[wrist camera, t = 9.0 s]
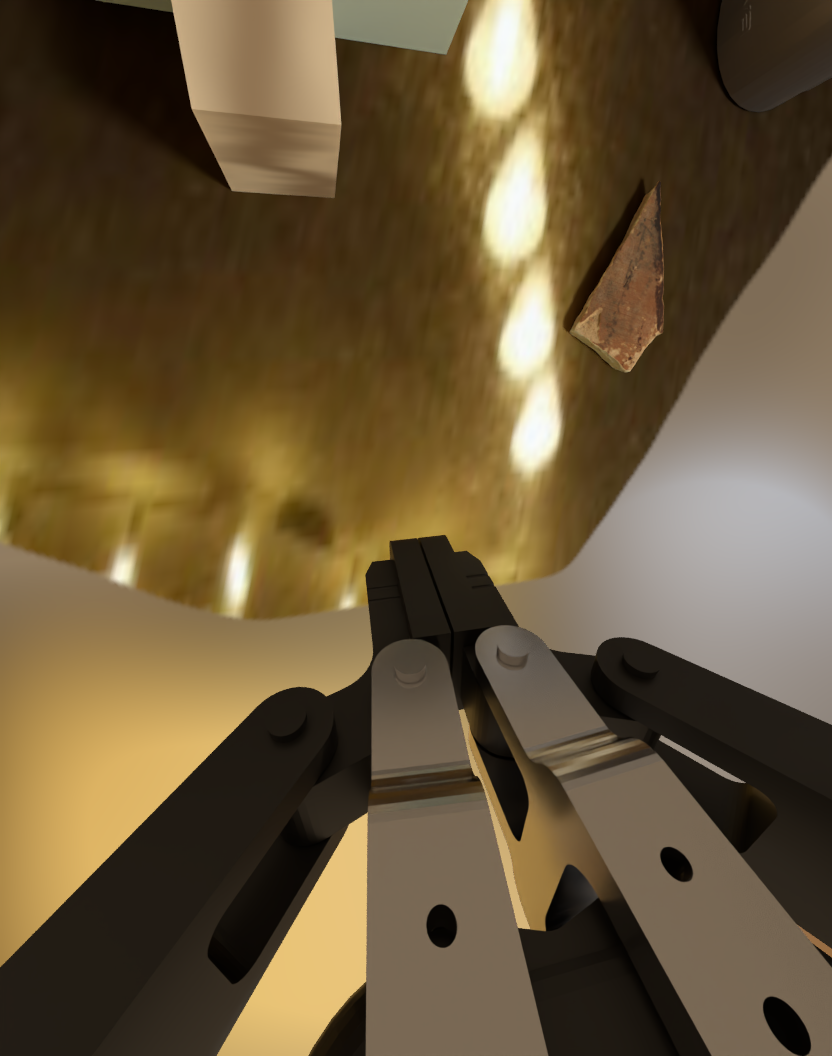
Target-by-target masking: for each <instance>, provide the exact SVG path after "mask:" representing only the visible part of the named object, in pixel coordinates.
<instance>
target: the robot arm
mask: <svg viewBox="0 0 832 1056" xmlns="http://www.w3.org/2000/svg"><path fill="white" fill-rule="evenodd" d="M717 54H718V62H719V69H720V73H721V76H722V80H723V83H724V85H725V87H726V89H727V91H728V93H729V95H730V97H731V98H732V99H733V100H734V101H735V102H736V103H737V104H738V105H739V106H741V107H742V108H744V109H746V110H748V111H754V112H762V111H766V110H771V109H772V108H774V107H776V106H778V105H780V104H782V103H783V102H785V101H787V100H789V99H790V98H792V97H794V96H796V95H797V94H799V93H801V92H803V91H807V90H810V89H812V88H813V87H815V86H817V85H819V84H820V83H822V82H824V81H826V80H827V79H829V78H831V77H832V0H722V3H721V7H720V14H719V21H718V28H717ZM366 585H367V595H368V604H369V613H370V623H371V633H372V641H373V658H372V661H371V663H370V666H369V667H368V669H367V671H366V672H365V673H364V674H363V675H362V677H360V678H359V679H358V680H357V681H356V682H354V683H353V684H351V685H349V686H348V687H346V688H344V689H342V690H340V691H338V692H335V693H333V694H331V695H329V696H327V697H326V696H325V695H324V694H322V693H321V692H319V691H317V690H315V689H312V688H307V687H296V688H290V689H286V690H283V691H280V692H278V693H276V694H274V695H272V696H270V697H269V698H267V699H266V700H264V701H263V702H262V703H261V704H260V705H259V706H257V707H256V709H254V711H252V713H251V714H250V715H249V716H248V717H247V718H246V719H245V720H244V721H243V722H242V723H241V724H240V725H239V726H238V727H237V728H236V729H235V730H234V731H233V732H232V733H231V734H230V735H229V736H228V737H227V738H226V739H225V740H224V741H223V742H222V743H221V744H220V745H219V746H218V747H217V748H216V749H215V750H214V751H213V752H212V753H211V754H210V755H209V756H208V757H207V758H206V759H205V760H204V761H203V762H202V763H201V764H200V765H199V766H198V767H197V768H196V769H195V770H194V771H193V772H192V774H190V775H189V776H188V778H187V779H186V780H185V781H184V782H183V783H182V784H181V785H180V786H179V787H178V788H177V789H176V790H175V791H174V792H173V793H172V794H171V795H170V796H169V797H168V798H167V799H166V800H165V801H164V802H163V803H162V804H161V805H160V806H159V807H158V808H157V809H156V810H155V811H154V812H153V813H152V814H151V815H150V816H149V817H148V818H147V819H146V820H145V821H144V822H143V823H142V824H141V825H140V826H139V827H138V828H137V829H136V830H135V831H134V832H133V833H132V834H131V835H130V836H129V837H128V838H127V839H126V840H125V841H124V843H123V844H121V846H120V847H119V848H118V849H117V850H116V851H115V852H114V853H113V854H112V855H111V856H110V857H109V858H108V859H107V860H106V861H105V862H104V863H103V864H102V865H101V866H100V867H99V868H98V869H97V870H96V871H95V872H94V873H93V874H92V875H91V876H90V877H89V878H88V879H87V880H86V881H85V882H84V883H83V884H82V885H81V886H80V887H79V888H78V889H77V890H76V891H75V892H74V893H73V894H72V895H71V896H70V897H69V898H68V899H67V900H66V902H64V904H62V905H61V906H60V907H59V908H58V910H56V912H54V914H53V915H52V916H51V917H50V918H49V919H48V920H47V921H46V922H45V923H44V924H43V925H42V926H41V927H40V928H39V929H38V930H37V931H36V932H35V933H34V934H33V935H32V936H31V937H30V938H29V939H28V940H27V941H26V942H25V943H24V944H23V945H22V946H21V947H20V948H19V949H18V950H17V951H16V952H15V953H14V954H13V955H12V956H11V957H10V958H9V959H8V960H7V961H6V962H5V963H4V964H3V965H2V966H1V967H0V1056H217V1054H218V1052H219V1050H220V1049H221V1047H222V1045H223V1043H224V1042H225V1040H226V1038H227V1036H228V1035H229V1033H230V1031H231V1030H232V1028H233V1026H234V1024H235V1023H236V1021H237V1019H238V1017H239V1016H240V1014H241V1012H242V1010H243V1009H244V1007H245V1005H246V1003H247V1002H248V1000H249V998H250V997H251V995H252V993H253V991H254V989H255V988H256V986H257V985H258V983H259V981H260V979H261V978H262V976H263V974H264V972H265V971H266V969H267V967H268V965H269V964H270V962H271V960H272V958H273V957H274V955H275V953H276V952H277V950H278V948H279V946H280V945H281V943H282V941H283V940H284V938H285V936H286V934H287V932H288V931H289V929H290V927H291V926H292V924H293V922H294V920H295V919H296V917H297V915H298V913H299V912H300V910H301V908H302V907H303V905H304V903H305V901H306V900H307V898H308V896H309V894H310V893H311V891H312V889H313V888H314V886H315V884H316V882H317V881H318V879H319V877H320V875H321V874H322V872H323V870H324V869H325V867H326V865H327V863H328V862H329V860H330V858H331V856H332V855H333V853H334V851H335V850H336V848H337V846H338V844H339V842H340V841H341V839H342V837H343V836H344V834H345V831H346V830H347V828H348V825H349V824H350V823H352V822H353V821H355V820H356V819H358V818H359V817H361V816H362V815H364V814H366V813H367V812H368V845H367V847H368V849H367V850H368V851H367V967H366V976H367V977H366V982H365V983H364V984H363V985H362V986H361V987H360V988H359V989H358V990H357V991H356V992H355V993H354V994H353V995H352V996H350V998H349V999H348V1000H347V1001H346V1003H345V1004H344V1005H343V1006H342V1007H341V1009H340V1010H339V1011H338V1012H337V1013H336V1015H335V1016H334V1017H333V1018H332V1019H331V1021H330V1023H329V1024H328V1026H327V1027H326V1029H325V1030H324V1032H323V1033H322V1035H321V1036H320V1038H319V1039H318V1041H317V1042H316V1044H315V1045H314V1047H313V1048H312V1050H311V1052H310V1054H309V1056H832V958H831V957H830V956H829V955H827V954H826V953H825V952H823V951H822V950H821V949H819V948H818V947H816V946H815V945H814V944H812V943H811V942H810V940H809V939H808V938H807V937H806V936H805V934H804V933H803V932H802V931H801V929H800V928H799V927H798V926H797V925H799V926H800V927H802V928H803V929H805V930H806V931H807V932H809V933H810V934H812V935H813V936H815V937H816V938H817V939H819V940H820V941H822V942H823V943H825V944H826V945H827V946H829V947H830V948H832V725H831V724H828V723H826V722H824V721H821V720H819V719H817V718H814V717H812V716H810V715H808V714H806V713H804V712H801V711H799V710H797V709H795V708H792V707H790V706H788V705H786V704H783V703H781V702H779V701H777V700H774V699H772V698H770V697H767V696H765V695H763V694H761V693H759V692H756V691H754V690H752V689H750V688H747V687H745V686H743V685H741V684H738V683H736V682H734V681H732V680H729V679H727V678H725V677H722V676H720V675H718V674H716V673H714V672H711V671H709V670H707V669H705V668H702V667H700V666H698V665H696V664H693V663H691V662H689V661H686V660H684V659H682V658H680V657H678V656H675V655H673V654H671V653H669V652H666V651H664V650H662V649H660V648H657V647H655V646H653V645H650V644H648V643H646V642H643V641H640V640H637V639H632V638H624V637H623V638H622V637H621V638H620V637H619V638H612V639H609V640H606V641H604V642H603V643H602V644H601V645H600V646H599V648H598V650H597V653H596V656H592V655H583V654H575V653H566V652H559V651H555V650H551V649H549V648H548V647H547V645H546V644H545V643H544V642H543V641H542V639H540V638H539V637H538V636H537V635H535V634H534V633H532V632H530V631H528V630H526V629H523V628H521V627H519V626H518V624H517V623H516V621H515V620H514V618H513V616H512V614H511V612H510V611H509V609H508V607H507V606H506V604H505V602H504V600H503V599H502V597H501V595H500V594H499V592H498V590H497V588H496V587H494V583H493V582H492V580H491V578H490V577H489V576H488V573H487V571H486V570H485V568H484V566H483V565H482V563H481V561H480V560H479V559H477V558H476V557H474V556H473V555H472V554H470V553H469V552H467V551H462V552H454V551H453V549H452V547H451V545H450V543H449V541H448V539H447V537H446V536H445V535H441V536H432V537H422V538H418V540H417V538H414V539H405V540H396V541H390V560H385V561H376V562H372V563H371V565H370V567H369V569H368V571H367V573H366ZM461 709H464V710H465V713H466V716H467V719H468V722H469V733H468V741H469V745H470V748H471V751H472V754H473V756H474V759H475V761H476V764H477V766H478V769H479V772H480V774H481V777H482V780H483V782H484V785H485V787H486V790H487V793H488V795H489V798H490V800H491V803H492V805H493V808H494V811H495V813H496V816H497V818H498V821H499V824H500V826H501V829H502V831H503V834H504V836H505V839H506V842H507V845H508V848H509V851H510V855H511V859H512V865H513V873H514V878H515V883H516V886H517V890H518V894H519V897H520V901H521V904H522V907H523V910H524V913H525V915H526V918H527V921H528V924H529V926H530V929H522V928H518V927H517V923H516V919H515V915H514V910H513V907H512V902H511V898H510V894H509V890H508V886H507V881H506V877H505V873H504V869H503V865H502V861H501V856H500V852H499V848H498V844H497V840H496V836H495V831H494V827H493V823H492V819H491V814H490V810H489V806H488V802H487V798H486V795H485V792H484V789H483V786H482V783H481V781H480V779H479V778H478V777H477V776H475V775H474V774H473V771H472V768H471V764H470V760H469V756H468V751H467V747H466V742H465V738H464V733H463V729H462V724H461V719H460V715H459V710H461ZM661 735H662V736H664V737H666V738H668V739H670V740H671V741H673V742H675V743H676V744H678V745H680V746H682V747H684V748H686V749H687V750H689V751H691V752H692V753H694V754H696V755H698V756H699V757H701V758H703V759H705V760H707V761H708V762H710V763H712V764H714V765H715V766H717V767H719V768H721V769H723V770H724V771H726V772H728V773H730V774H731V775H733V776H735V777H737V778H739V779H740V780H742V781H744V782H746V783H738V782H734V781H731V780H729V779H726V778H724V777H722V776H721V775H719V774H717V773H715V772H714V771H712V770H710V769H708V768H706V767H705V766H703V765H701V764H699V763H698V762H696V761H694V760H693V759H691V758H689V757H687V756H686V755H684V754H682V753H680V752H679V751H677V750H675V749H673V748H672V747H670V746H668V745H666V744H665V743H663V742H661V741H659V738H660V736H661Z"/></svg>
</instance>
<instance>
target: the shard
mask: <svg viewBox="0 0 832 1056" xmlns="http://www.w3.org/2000/svg"><path fill="white" fill-rule="evenodd" d="M660 187H661V182H660V181H658V183H657V184H656V186H655V187H654V188H653V189H652V190H651V191H650V192H649V193H647V194H646V195H645V196H644V198H643V200H642V203H641V205H640V206H639V208H638V210H637V212H636V213H635V215H634V218H633V220H632V222H631V224H630V226H629V229H628V231H627V233H626V235H625V237H624V239H623V241H622V243H621V245H620V247H619V248H618V249H617V251H616V253H615V255H614V257H613V258H612V261H611V263H610V265H609V267H608V268H607V269H606V271H605V272H604V274H603V276H602V277H601V279H600V282H599V283H598V285H597V286H596V288H595V289H594V291H593V292H592V293H591V294H590V296H589V298H588V300H587V302H586V304H585V306H584V308H583V310H582V311H581V313H580V315H579V316H578V317H577V318H576V320H575V322H574V325H573V327H572V329H571V330H570V332H569V333H570V334H572V335H573V336H575V337H577V338H578V339H579V340H580V341H582V342H583V343H585V344H586V345H588V346H589V347H591V348H592V349H594V350H595V351H596V352H597V353H598V354H599V355H600V357H601V358H602V359H603V360H605V361H606V362H607V363H609V365H610V366H611V367H612V368H615V369H616V370H620V371H623V372H629V371H631V369H632V368H633V366H634V365H635V364H636V362H637V360H638V359H639V357H640V356H641V354H642V352H643V351H644V349H645V348H646V347H647V346H648V344H650V343H651V341H652V340H653V339H654V338H655V337H656V336H657V335H658V334H661V333H663V322H664V320H663V314H664V303H663V300H662V296H663V292H664V281H663V275H664V263H663V242H662V229H661V220H660V212H661V207H660V203H661V193H660Z"/></svg>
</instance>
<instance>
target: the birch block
mask: <svg viewBox="0 0 832 1056" xmlns="http://www.w3.org/2000/svg"><path fill="white" fill-rule="evenodd" d="M171 2H172V7H173V13H174V18H175V23H176V29H177V34H178V39H179V45H180V50H181V55H182V60H183V66H184V71H185V76H186V82H187V87H188V92H189V97H190V103H191V108H192V111H193V113H194V115H195V117H196V119H197V121H198V123H199V125H200V127H201V129H202V131H203V133H204V135H205V137H206V139H207V141H208V143H209V145H210V147H211V149H212V151H213V153H214V155H215V157H216V159H217V161H218V163H219V165H220V167H221V170H222V172H223V174H224V176H225V178H226V180H227V182H228V184H229V186H230V188H231V190H232V191H240V192H254V193H269V194H284V195H299V196H314V197H328V198H335V187H336V176H337V166H338V155H339V144H340V133H341V115H340V101H339V88H338V74H337V61H336V47H335V34H334V20H333V7H332V0H171Z"/></svg>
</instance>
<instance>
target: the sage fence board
mask: <svg viewBox="0 0 832 1056" xmlns="http://www.w3.org/2000/svg"><path fill="white" fill-rule="evenodd" d="M97 1H103V2H110V3H116V4H122V5H129V6H135V7H142V8H148V9H155V10H161V11H168V12H173V7H172V2H171V0H97ZM467 2H468V0H332V7H333V20H334V34H335V38H342V39H348V40H355V41H361V42H368V43H374V44H381V45H387V46H394V47H400V48H407V49H413V50H419V51H426V52H432V53H439V54H445V55H446V53H447V51H448V49H449V46H450V44H451V41H452V39H453V36H454V34H455V31H456V29H457V26H458V24H459V22H460V19H461V17H462V14H463V12H464V9H465V7H466V4H467Z"/></svg>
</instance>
